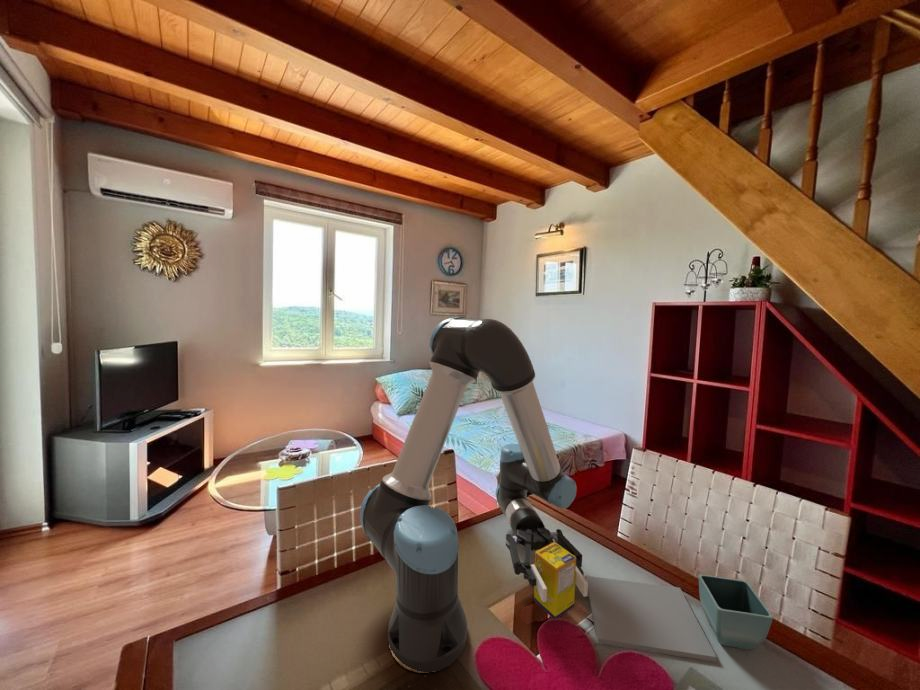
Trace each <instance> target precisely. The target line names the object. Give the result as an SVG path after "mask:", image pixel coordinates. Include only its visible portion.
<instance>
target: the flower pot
mask: <svg viewBox="0 0 920 690" xmlns="http://www.w3.org/2000/svg"><path fill="white" fill-rule="evenodd" d="M698 591H699V592H698V593H699V600H700V604H701V608H702V611H703V613H704V616H705V617H706V620H707V622H708V623H709V626H710V628H711V629H712V630H711V631H713V633H714V635H715V637H716V640H717V641H718V643H719V644H720V645H722V646H727V647H732V648H738V649H744V650H745V649H746V650H752V649H755V648H757V647H759V646H761V645H762V644H763V642H764V641H765V640H766V638H767V636H768V634H769V632H770V631H769V630H770V628H771V624H772V623H773V619H774V616H773V614H772V612H771V611H770V610H769V609H768V607H767V606H766V605H765V603H764V602H763V601H762V599H761V598H760V597H759V595H758V593H756V592H755V590H754V589H753V587H752V586H751V584H750V583H749V582H748V581H747V580H743V579H737V578H730V577H729V578H728V577H721V576H715V575H708V574H698Z"/></svg>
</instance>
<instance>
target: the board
mask: <svg viewBox="0 0 920 690" xmlns="http://www.w3.org/2000/svg"><path fill="white" fill-rule="evenodd" d="M584 578H585V580H586V581H587V583H588V593H587V597H588V601H589V605H590V612H591V614H592V621H593V624H594V630H595V634H596V639H597V644H599V645H607V646H612V647H620V648H625V649H631V650H632V649H633V650H637V651H645V652H650V653H657V654H664V655H670V656H676V657H680V658H681V657H683V658H688V659H693V660H694V659H695V660H701V661H707V662H708V661H709V662H714V663H717V654H716V653H715V651H714V649H713V647H712V645H711V644H710V642H709V640H708V638H707V636H706V634H705V632H704V631H703V629H702V626H701V625H700V623H699V621H698V619H697V617H696V616H695V613H694V611H693V610H692V608H691V606H690V604H689V603H688V600H687V598H686V597H685V595H684V593H683V591H682V589H681V587H677V586H668V585H661V584H654V583H646V582H637V581H630V580H621V579H616V578H615V579H614V578H607V577H600V576H599V577H598V576H592V575H585V576H584Z"/></svg>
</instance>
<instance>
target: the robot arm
mask: <svg viewBox="0 0 920 690" xmlns="http://www.w3.org/2000/svg"><path fill="white" fill-rule="evenodd" d="M429 347H430V352H431V354H432V356H431V359H430V361H429V366H430V369H431V376H430V377H429V381H428V383H427V386H426V388H425V391H424V393H423V396H422V398H421V401H420V403H419V405H418V408H417V410H416V414H415V416H414V418H413V420H412V423H411V425H410V428H409V430H408V433H407V435H406V438H405V439H404V443H403V445H402V447H401V451H400V452H399V454H398V457H397V460H396V462H395V465H394V467H393V470H392V472H390V473H388V474H386V475H384V476H383V477H382V479H381V481H380V483H378V484H377V485H375V486H374V488H373V489H370V490H369V491H368V493H367V494H366V495H365V497H364V498H363V500H362V503H361V505H360V510H359V521H360V524H361V528H362V529H363V531H364V534H365V535H366V538H367V540H368V541H369V542H370V543H372V544H373V545H374V547H375V548H376V550H377V551H378V552H379V553H380V555H381V556H382V558H384V560H385V561H386V562H387V564H388V565H389V567H390V568H391V569H392V571H393V573H394V576H395V588H396V589H395V592H396V593H395V596H396V600H395V603H394V606H393V609H392V613H391V616H390V618H389V623H388V626H387V627H388V629H387V642H388V641H389V645H390V648H391V650H392V651H393V653H394V654H395V656H396V657H397V658H398V659H399V660H400V661H401V662H402V663H403V664H405V665H406V666H408V667H410V668H412V669H415V670H417V671H421V672H422V671H423V672H432V671H438V670H441V671H443V670H445V669H446V667H447V666H448V667H450V666H452V665H453V664H454V663H455V662H456V661H457V660H458V659H459V658H460V656H461V655H462V653H463V652H462V651H464V650H463V649H465V647H466V644H467V641H466V640H467V639H468V622H467V616H466V614H465V610H464V608H463V605H462V603H461V599H460V597H459V595H458V594H459V593H458V592H459V590H458V589H459V588H458V587H459V585H458V584H459V581H458V580H459V577H458V576H459V575H458V574H459V548H460V547H459V546H460V545H459V543H460V542H459V539H458V538H459V537H458V530H457V525H456V522H455V521H454V519H453V517H451V515H450V514H449V513H448V512H446V511H445V510H443V509H442V508H440V507H436V506H435V507H432V506H431V505H429V504H430V501H431V500H432V493H431V490H430V488H429V487H430V486H429V485H430V482H431V480H432V478H433V475H434V472H435V469H436V467H437V464H438V462H439V460H440V457H441V454H442V452H443V449H444V446H445V444H446V441H447V438H448V436H449V433H450V430H451V428H452V426H453V422H454V420H455V418H456V415H457V412H458V410H459V407H460V404H461V402H462V400H463V397H464V395H465V392H466V389H467V387H468V386H469V385H471V384H474V383H475V382H477V378H478V376H479V373H483V375H485V376H486V378H487V379H488V380H489V381H490V383H491V387H492V389H493V391H495V392H497V393H499V395H500V398H501V400H502V403H503V406H504V408H505V411H506V414H507V417H508V419H509V422H510V424H511V427H512V429H513V433H514V435H515V438H516V440H517V443H508V444H505V445H503V446H502V447H501V449H500V458H499V483H498V485H497V486H496V489H495V498H496V502H497V503H498V506H499V507H500V509H501V511H502V513H503V515H504V518H505V519H506V520H507V523H508V525H509V527H510V528H511V531H512V533H513V536H512V534H510V533H507V534H506V535H505V546H506V547H507V549H508V551H509V554H510V559H511V563H512V568H513V572H514V574H515V575H518V576H519V575H520V574H523V579H524V580H527V582H528V584H529V585H530V586H531V587H534V586H535V587H536V589H537V591H538V593H539V596H540V598H541V600H542V602H547V588H546V586H545V584H544V582H543V580H542V578H541V576H540V574H539V572H538V570H537V568H536V566H535V563H533V564H531V559H532V558H531V557H532V556H531V555H532V551H534V552H535V551H538V550H540V549H542V548H544V547H546V546H547V545H549V544H551V543H553V542H555V543H557V544H558V545H560V546H561V547H563V548H564V549H565V550H567V551H568V552H570V553H571V554H573V555H574V556H575V557H576V573H575V586H576V587H577V588H578V590H579V592H580V593H581V595H582V596H583V597H584V598H585V597H588V583H587V581H586V580H585V576H584V574H585V573H584V570H583V569H582V567H583V554H582V552H580V551H579V549H577V548H576V547H575V546H574V545H573V544H572V542H570V541H569V539H568V538H566V536H564V534H563V531H562V530H561V529H559V528H558V529H556V530H555V532H552V531H550V529H547V528H546V526H545V524H544V522H543V520H542V518H541V517H540V516H539V514H538V513H537V511H536V509H535V508H534V506H533V505H532V504H531V502H530V501H529V499H528V497H527V496H528V495H527V494H528V493H527V492H529V493H530V494H533V495H534V496H536V497H538V498H539V499H541V500H543V501H544V502H547V503H548V504H549V505H551V506H555V507H556V508H559V509H567V508H569V506H571V504H572V503H573V502H574V500H575V498H576V496H577V484H576V481H575V480H574V479H573V478H571V477H569V476H568V475H567V474H564V473H563V470H562V468H561V465H560V462H559V459H558V456H557V453H556V449H555V446H554V442H553V440H552V437H551V433H550V430H549V427H548V425H547V422H546V418H545V416H544V412H543V409H542V406H541V403H540V399H539V397H538V393H537V391H536V388H535V384H534V380H535V379H536V372H535V369H534V366H533V363H532V360H531V358H530V356H529V353H528V351H527V349H526V348H525V346H524V344H523V342H522V341H521V339H520V338H519V337H518V335H516V333H515V332H514V331H513V330H512V329H511V328H510V327H509V326H508V325H507V324H505V323H503V322H501V321H499V320H497V319H493V318H473V317H466V316H456V317H449V318H446V319H444V320H442V321H441V322H440V323H438V324H437V325H436V327H435V328H434V330H433V331H432V333H431V335H430V339H429ZM517 544H519V545H520V546H521V547H522V546H523V547H524V559H523V560H524V561H523V562H522V561H521V558H520V554H519V550H518V547H517ZM389 645H388V646H389ZM460 654H461V655H460ZM457 658H458V659H457ZM448 667H447V668H448ZM444 668H445V669H444ZM442 669H443V670H442ZM438 672H439V671H438Z"/></svg>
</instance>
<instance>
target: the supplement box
mask: <svg viewBox="0 0 920 690" xmlns="http://www.w3.org/2000/svg"><path fill="white" fill-rule="evenodd" d="M534 565H535V566H536V568H537V570H538V572H539V574H540V576H541V578H542V580H543V582H544V584H545V586H546V588H547V602H542V600H541V598H540V596H539V593H538V591H537V589H536V587H535V586H533V601H534V602H535V603H536V604H537V605H538V606H540V608H541V609H542V610H544V611H545V612H546V613H547V614H548V615H549V616H550V617H551V618H552V619H553V620H557V619H559V618H560V617H561V616H562V615H564V614H565V613H567V612H568V611H569V610H571V609H573V608H574V607H575V594H576V591H575V590H576V584H575V573H576V557H575V556H574V555H573V554H571V553H570V552H568V551H567V550H565V549H564V548H563V547H561V546H560V545H558V544H557V543H555V541H554V542H553V543H551V544H549V545H547V546H546V547H544V548H542V549H540V550H539V549H538V550H535V551H534Z"/></svg>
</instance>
